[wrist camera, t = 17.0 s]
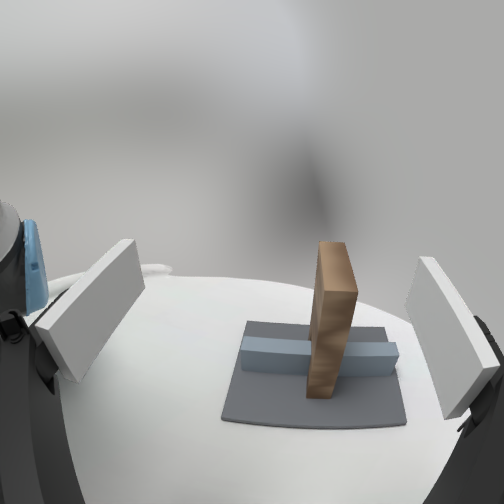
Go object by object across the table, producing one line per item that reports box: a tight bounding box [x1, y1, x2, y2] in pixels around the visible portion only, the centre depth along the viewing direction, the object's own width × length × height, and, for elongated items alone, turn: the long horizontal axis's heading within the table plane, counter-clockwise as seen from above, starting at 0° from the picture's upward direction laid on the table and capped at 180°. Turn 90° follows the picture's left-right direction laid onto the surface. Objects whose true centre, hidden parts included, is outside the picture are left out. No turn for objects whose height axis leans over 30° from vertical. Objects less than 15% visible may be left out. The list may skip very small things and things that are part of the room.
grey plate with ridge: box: [221, 321, 407, 429], centre depth 35 cm, size 22×18×5 cm
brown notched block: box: [306, 241, 358, 399], centre depth 32 cm, size 3×10×16 cm, turn 171°
